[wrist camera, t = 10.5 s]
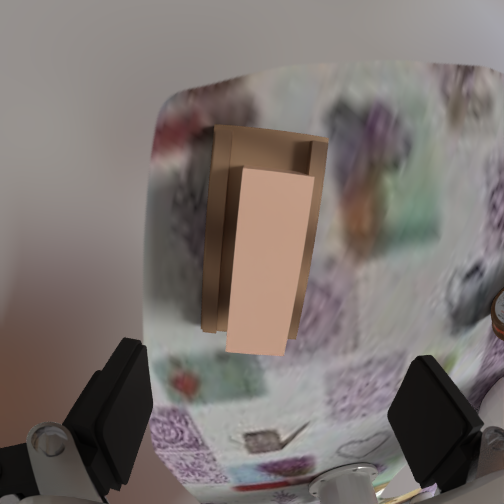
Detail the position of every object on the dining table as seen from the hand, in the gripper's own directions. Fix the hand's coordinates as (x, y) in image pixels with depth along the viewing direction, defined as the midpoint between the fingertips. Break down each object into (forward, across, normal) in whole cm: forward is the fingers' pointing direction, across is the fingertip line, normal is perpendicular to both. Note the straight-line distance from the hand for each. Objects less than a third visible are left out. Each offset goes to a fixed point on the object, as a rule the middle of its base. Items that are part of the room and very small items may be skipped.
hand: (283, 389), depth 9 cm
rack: (+17, 0, -1) cm, 17 cm away
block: (+16, 0, -1) cm, 16 cm away
